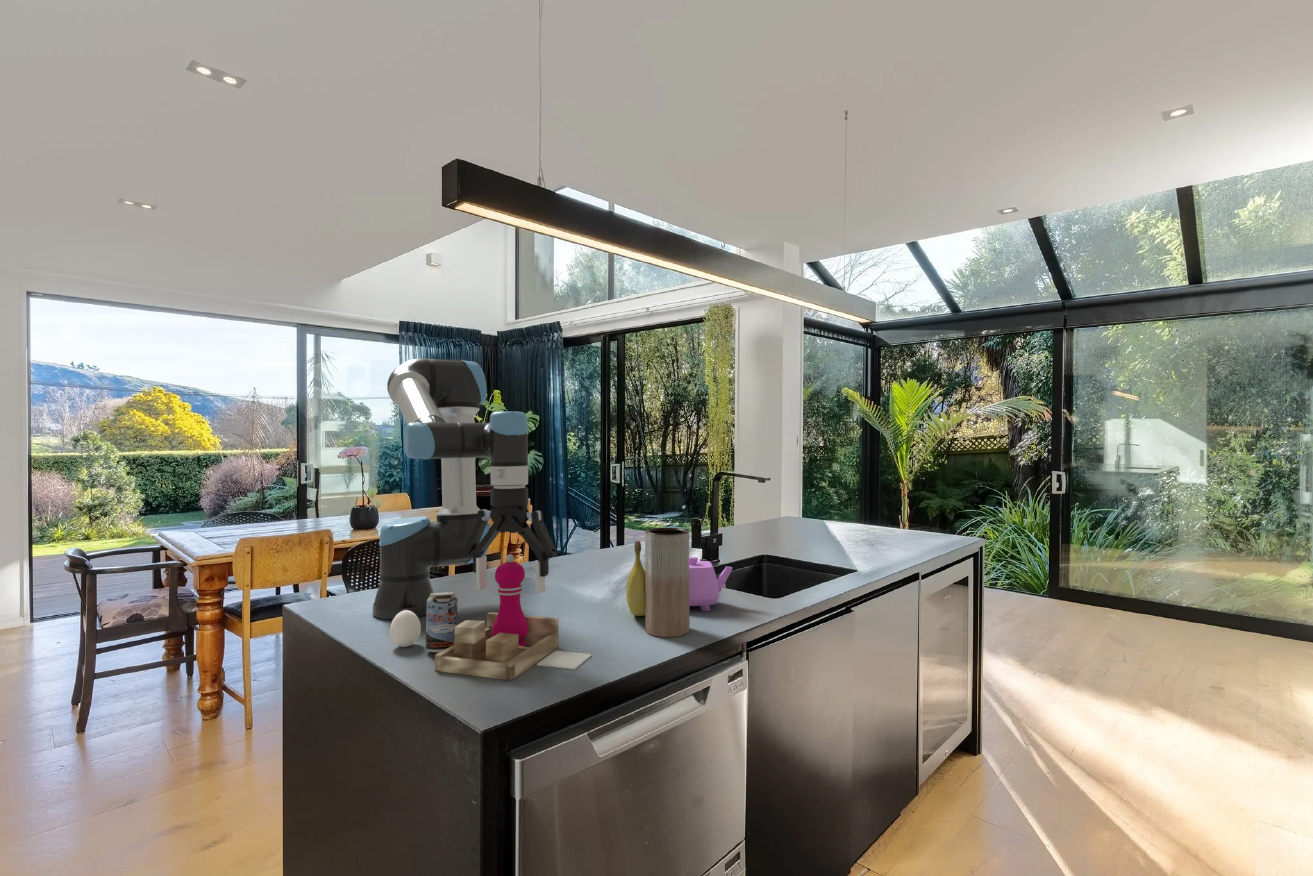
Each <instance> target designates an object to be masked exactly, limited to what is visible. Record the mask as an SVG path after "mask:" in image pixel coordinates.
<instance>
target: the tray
mask: <svg viewBox="0 0 1313 876" xmlns="http://www.w3.org/2000/svg"><path fill="white" fill-rule="evenodd" d="M497 614H498V612H492V611H489V612H487V613H486V627H485V636H487V640H488V639H490V638H492V637H493V635H492V628H493V624H494V621H495V619H496V617H497ZM524 616H525V618H526V621H527V624H528V633H527V635H526V637H525V638H524V639H523V640H524V641H525V642H526V647H524V646H518V653H519V655H518V656H516V657H514V658H513V659H511V660H510V661H508V662H507V663H498V662H490V661H482V660H473V659H465V658H456V657H454V645H453V646H451V647H449V648H447V649H445V650H443V651H441V652H436V654H434V671H435V672H443V673H450V674H457V675H466V676H474V677H482V678H488V679H489V678H490V679H496V680H504V681H513V680H515V678H517V677H518V676H520V675H521V674H523V673H524V672H525V671H527V670H528V669H530V668H531V667H533V666H534V665H536V664H537V663H539V662H540V661H542V660H543V659H544V658H546V657H547V656H549V655H550V654H551V653H553V652H554V651H555V650H556V649H558V648H559V645H560V644H559V642H560V641H559V637H560V635H559V630H560V629H559V617H548V616H538V615H536V616H535V615H526V614H524Z"/></svg>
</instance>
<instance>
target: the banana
mask: <svg viewBox="0 0 1313 876" xmlns="http://www.w3.org/2000/svg"><path fill="white" fill-rule="evenodd" d="M641 551H642V544H641V542H640V541H639V540H636V541H635V542H634V553H635V559H634V564H633V566H632V568H631V570H630V571H629V574H628V576H627V580H626V592H625V595H626V603H627V606H628V608H629V611H630V613H631V615H632V616H635V617H636V616H637V617H642V616H643V617H645V568H644V567H643V565H642V562H641Z"/></svg>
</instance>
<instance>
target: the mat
mask: <svg viewBox="0 0 1313 876" xmlns="http://www.w3.org/2000/svg"><path fill="white" fill-rule="evenodd" d="M591 657H592V654H591V653H584V652H583V653H582V652H581V653H580V652H573V651H563V650H556V649H555V650H553V651H552V652H551V653H549V654H548V655H546V656H545V657H544V658H542V659H541V660H539V661H538V662H537V663H536V666H537V667H544V668H545V667H547V668H555V669H563V670H570V671H571V670H573V671H575V670H576V669H578V668H579V667H580V666H581V665H582V664H584V663H585V662H587V660H588V659H590V658H591Z"/></svg>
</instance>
